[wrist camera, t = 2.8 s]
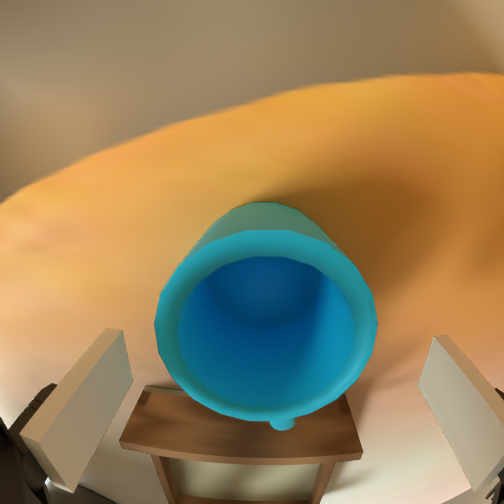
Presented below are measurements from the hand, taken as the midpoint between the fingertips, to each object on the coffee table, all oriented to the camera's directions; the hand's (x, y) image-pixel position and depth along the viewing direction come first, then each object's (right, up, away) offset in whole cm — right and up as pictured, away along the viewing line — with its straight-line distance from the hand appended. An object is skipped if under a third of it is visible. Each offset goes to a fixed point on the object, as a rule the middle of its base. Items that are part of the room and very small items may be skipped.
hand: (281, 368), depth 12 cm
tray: (-2, -14, +11) cm, 18 cm away
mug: (0, +2, +8) cm, 8 cm away
